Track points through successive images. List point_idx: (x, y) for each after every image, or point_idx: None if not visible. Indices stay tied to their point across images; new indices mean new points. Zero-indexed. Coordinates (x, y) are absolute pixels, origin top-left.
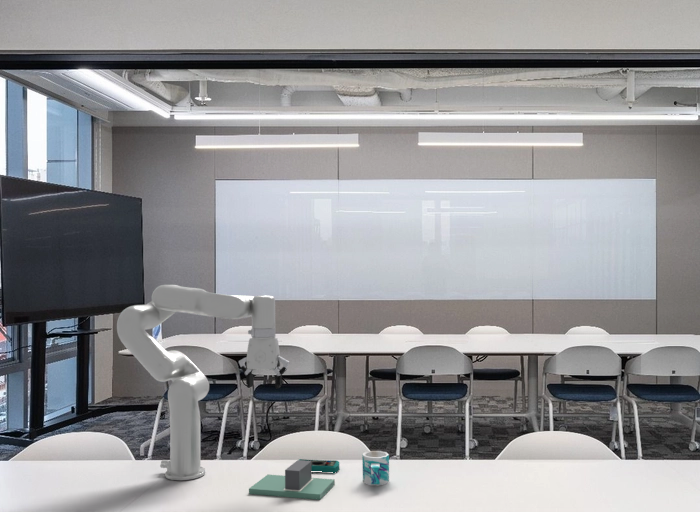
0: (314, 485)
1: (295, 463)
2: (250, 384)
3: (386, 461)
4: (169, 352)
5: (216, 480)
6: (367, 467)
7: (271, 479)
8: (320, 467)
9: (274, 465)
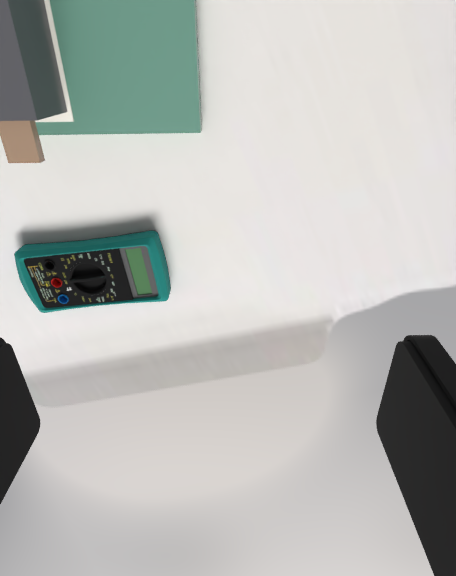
0: None
1: (12, 59)
2: (404, 389)
3: None
4: None
5: (391, 63)
6: None
7: (157, 71)
8: (62, 248)
9: (245, 277)
